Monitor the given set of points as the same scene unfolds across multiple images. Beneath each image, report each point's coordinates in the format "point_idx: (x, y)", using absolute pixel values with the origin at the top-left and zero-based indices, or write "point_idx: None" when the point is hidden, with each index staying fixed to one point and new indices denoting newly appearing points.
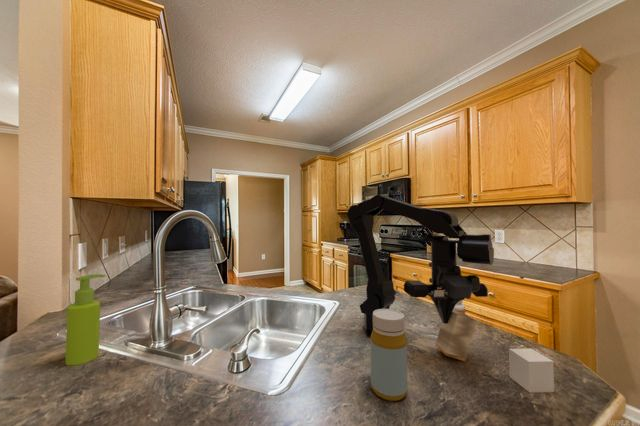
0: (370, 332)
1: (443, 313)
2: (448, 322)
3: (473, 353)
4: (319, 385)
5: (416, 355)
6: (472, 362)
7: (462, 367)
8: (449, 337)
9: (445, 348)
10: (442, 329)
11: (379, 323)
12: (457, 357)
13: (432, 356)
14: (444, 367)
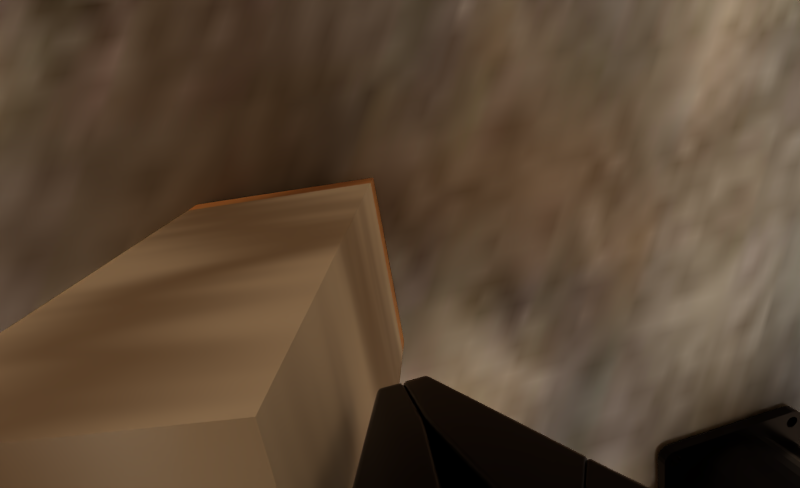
0: (778, 443)
1: (526, 443)
2: (350, 430)
3: None
4: None
5: (552, 224)
6: (136, 201)
7: (253, 104)
8: (354, 249)
9: (373, 221)
10: None
11: None
12: (266, 195)
13: (440, 233)
14: (401, 82)
